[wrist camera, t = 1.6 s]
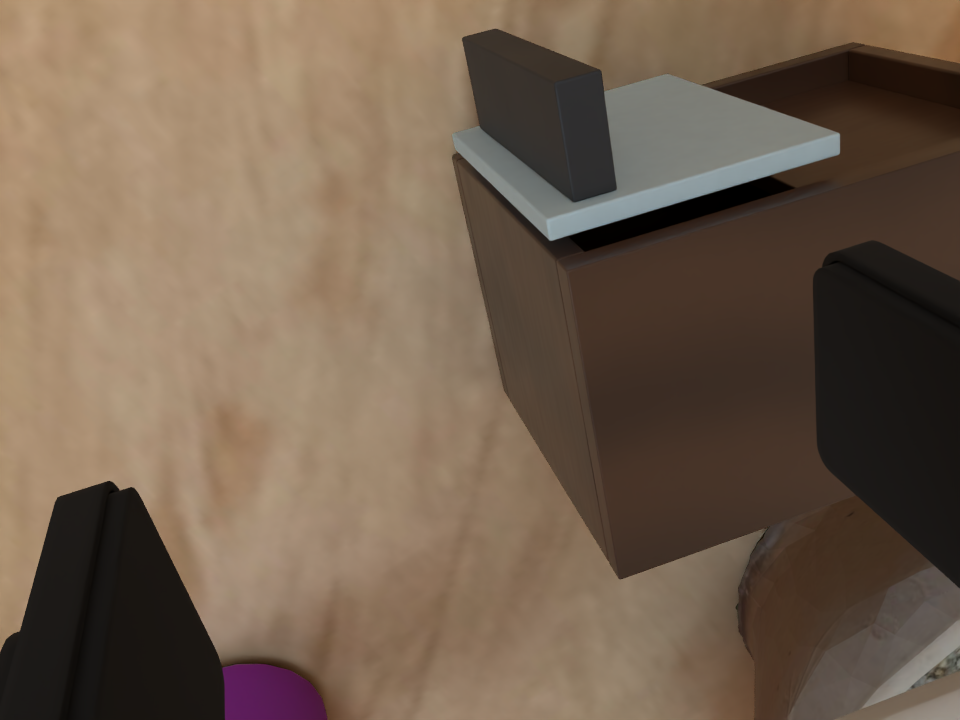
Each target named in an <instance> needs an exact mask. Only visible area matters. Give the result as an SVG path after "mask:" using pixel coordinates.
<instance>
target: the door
mask: <svg viewBox="0 0 960 720" xmlns="http://www.w3.org/2000/svg"><path fill="white" fill-rule="evenodd" d="M462 41H463V46H464V51H465V56H466V60H467V65H468V70H469V75H470V80H471V85H472V90H473V95H474V99H475V104H476V109H477V114H478V119H479V124H480V126H477V127H474V128H470V129H466V130H463V131H459V132H456V133H453V134H452V137H453V142H454V146H455V149H456V150H457V151H458V152H459V153H460V154H461V155H462V156H463V157H464V158H465V159H466V160H467V161H468V162H469V163H470V164H471V165H472V166H473V167H474V168H475V169H476V170H477V171H478V172H479V173H480V174H481V175H482V176H483V177H485V178H486V179H487V180H488V181H489V182H490V183H491V184H492V185H493V186H494V187H495V188H496V189H497V190H498V191H499V192H500V193H501V194H502V195H503V196H504V197H505V198H506V199H507V200H508V201H509V202H510V203H511V204H512V205H513V206H515V207H516V208H517V209H518V210H519V211H520V212H521V213H522V214H523V215H524V216H525V217H526V218H527V219H528V220H529V221H530V222H531V223H532V224H533V225H534V226H535V227H536V228H537V229H538V230H539V231H540V232H541V233H542V234H544V235H545V236H546V237H547V238H548V239H549V240H550V241H553V240H556V239H559V238H563V237H566V236H569V235H573V234H576V233H579V232H583V231H586V230H589V229H593V228H596V227H600V226H603V225H606V224H610V223H613V222H616V221H620V220H623V219H626V218H630V217H633V216H636V215H640V214H643V213H646V212H650V211H653V210H656V209H660V208H663V207H666V206H670V205H673V204H676V203H680V202H683V201H686V200H690V199H693V198H696V197H700V196H703V195H706V194H710V193H713V192H716V191H720V190H723V189H726V188H730V187H733V186H736V185H740V184H743V183H746V182H750V181H753V180H757V179H760V178H763V177H767V176H770V175H773V174H777V173H780V172H783V171H787V170H790V169H793V168H797V167H800V166H803V165H807V164H810V163H813V162H817V161H820V160H823V159H827V158H830V157H833V156H837V155H839V154H840V134H839V133H837V132H835V131H832V130H829V129H826V128H823V127H820V126H817V125H814V124H812V123H809V122H806V121H803V120H800V119H797V118H794V117H791V116H788V115H786V114H783V113H780V112H777V111H774V110H771V109H768V108H765V107H762V106H760V105H757V104H754V103H751V102H748V101H745V100H742V99H739V98H737V97H734V96H731V95H728V94H725V93H722V92H719V91H716V90H713V89H711V88H708V87H705V86H702V85H699V84H696V83H693V82H690V81H688V80H685V79H682V78H679V77H676V76H673V75H670V74H664V75H661V76H657V77H653V78H650V79H646V80H643V81H639V82H635V83H632V84H628V85H625V86H621V87H617V88H614V89H610V90H607V91H604V88H603V80H602V73H601V70H599V69H597V68H594V67H592V66H589V65H586V64H584V63H581V62H579V61H576V60H574V59H571V58H569V57H566V56H564V55H561V54H559V53H556V52H554V51H551V50H549V49H546V48H544V47H541V46H539V45H536V44H534V43H531V42H529V41H526V40H524V39H521V38H519V37H516V36H514V35H511V34H509V33H506V32H504V31H501V30H499V29H492V30H488V31H484V32H480V33H477V34H473V35H469V36H465V37H463V38H462Z"/></svg>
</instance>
